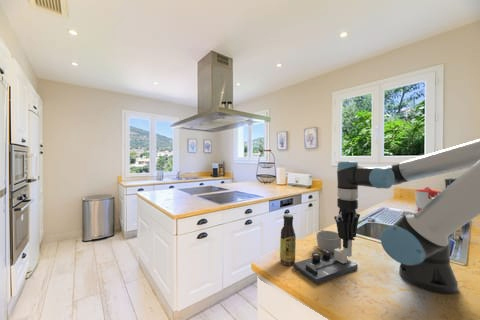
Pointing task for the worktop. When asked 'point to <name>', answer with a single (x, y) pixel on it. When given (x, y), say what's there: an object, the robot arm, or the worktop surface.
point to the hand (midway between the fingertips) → (347, 254)
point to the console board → (323, 267)
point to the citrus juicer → (424, 196)
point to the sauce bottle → (287, 241)
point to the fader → (340, 255)
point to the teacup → (328, 240)
